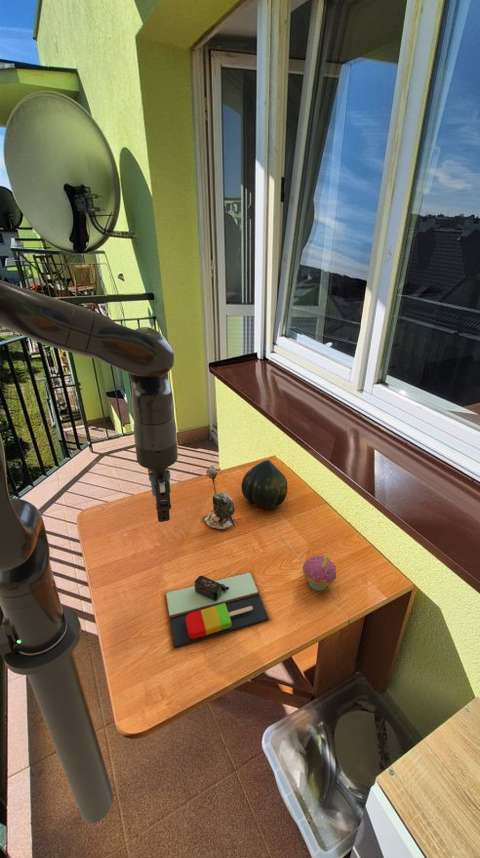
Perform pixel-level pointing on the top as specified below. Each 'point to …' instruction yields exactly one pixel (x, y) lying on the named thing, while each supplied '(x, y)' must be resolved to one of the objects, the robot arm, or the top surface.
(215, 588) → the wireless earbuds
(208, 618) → the popsicle
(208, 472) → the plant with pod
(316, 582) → the cupcake
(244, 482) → the squash
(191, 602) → the sorting mat
